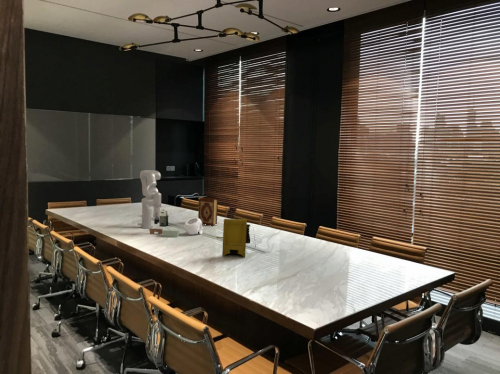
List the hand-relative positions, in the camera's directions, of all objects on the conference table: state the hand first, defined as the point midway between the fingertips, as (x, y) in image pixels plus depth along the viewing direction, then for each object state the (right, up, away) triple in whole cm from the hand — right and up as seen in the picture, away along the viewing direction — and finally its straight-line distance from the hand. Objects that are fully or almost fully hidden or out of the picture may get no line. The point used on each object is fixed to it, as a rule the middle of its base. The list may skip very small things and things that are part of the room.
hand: (156, 223), depth 374 cm
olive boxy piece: (+79, -20, -66) cm, 104 cm away
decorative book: (+41, -8, +64) cm, 77 cm away
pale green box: (+15, -12, -5) cm, 20 cm away
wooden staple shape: (-1, -11, 0) cm, 11 cm away
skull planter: (+35, -12, +8) cm, 38 cm away
